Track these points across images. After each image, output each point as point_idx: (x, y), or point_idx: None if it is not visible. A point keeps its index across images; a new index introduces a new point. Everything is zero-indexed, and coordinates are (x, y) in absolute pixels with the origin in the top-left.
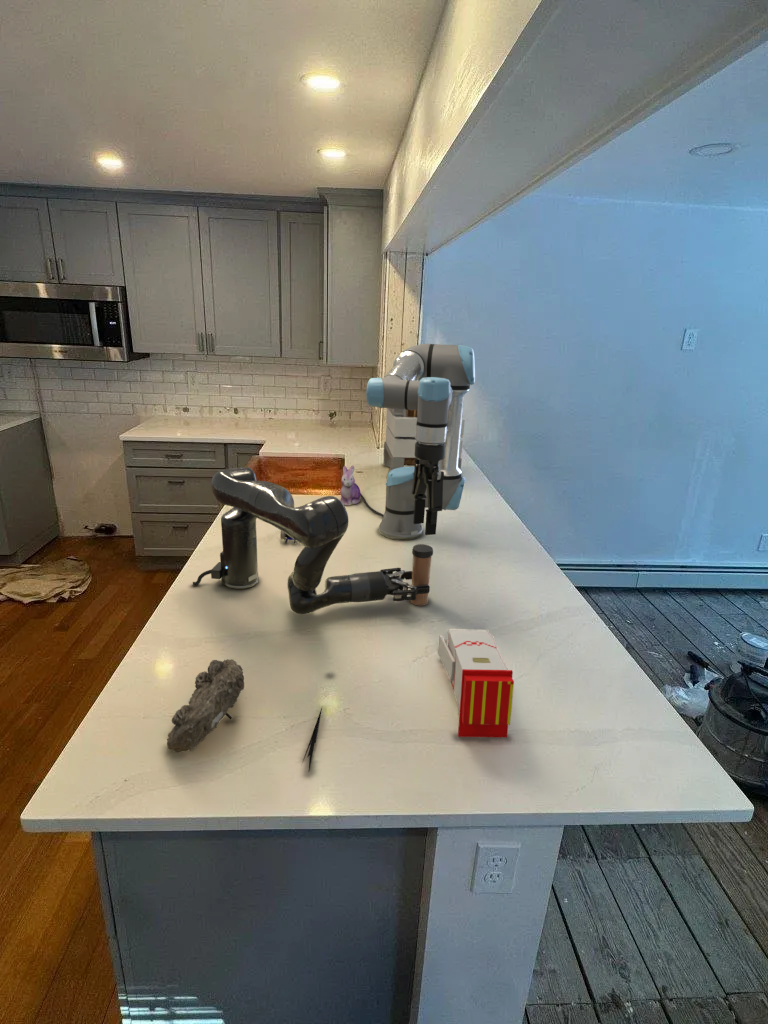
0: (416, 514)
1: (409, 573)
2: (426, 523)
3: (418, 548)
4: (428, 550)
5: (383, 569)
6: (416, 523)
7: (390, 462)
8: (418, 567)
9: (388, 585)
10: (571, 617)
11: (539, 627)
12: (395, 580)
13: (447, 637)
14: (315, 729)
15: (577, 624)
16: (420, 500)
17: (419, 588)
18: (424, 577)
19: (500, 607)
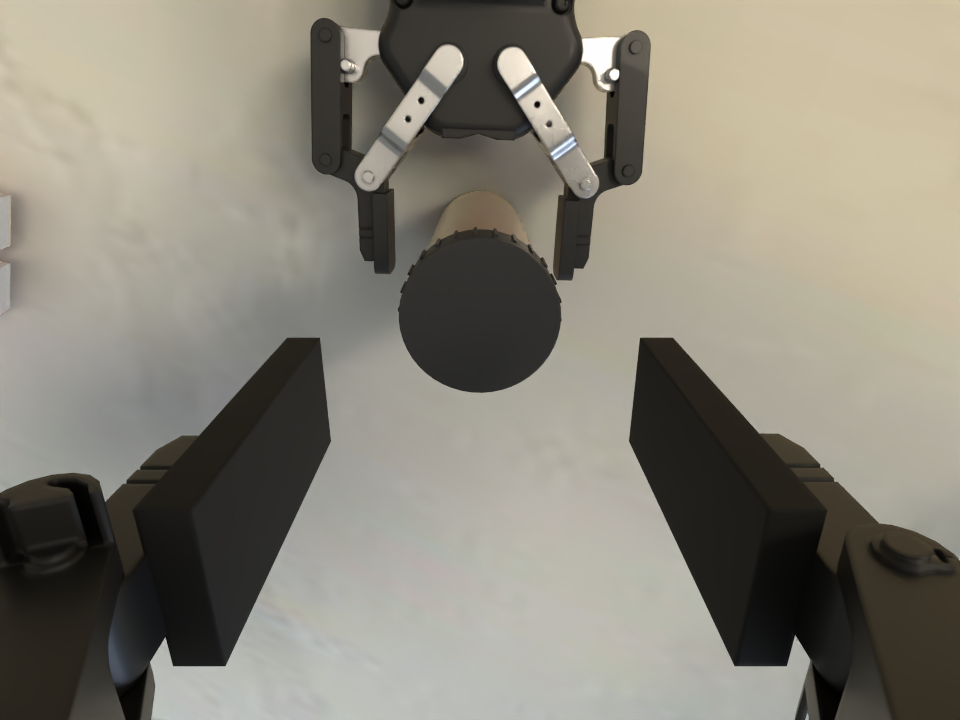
0: (672, 405)
1: (561, 220)
2: (244, 397)
3: (481, 283)
4: (428, 345)
5: (647, 59)
6: (637, 363)
7: None
8: (433, 242)
9: (420, 14)
10: (258, 691)
11: None
12: (438, 72)
13: (3, 196)
14: None
15: (213, 685)
16: (752, 589)
17: (366, 208)
18: None
19: (360, 527)
